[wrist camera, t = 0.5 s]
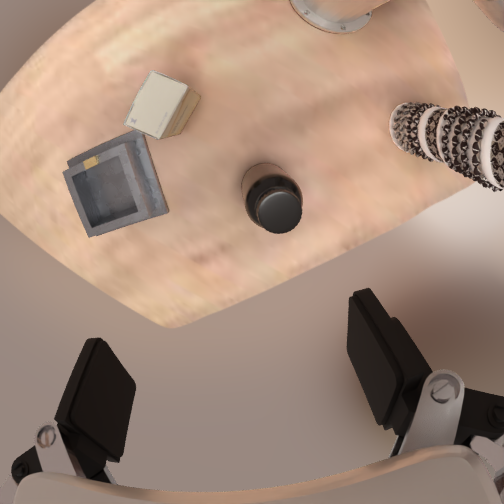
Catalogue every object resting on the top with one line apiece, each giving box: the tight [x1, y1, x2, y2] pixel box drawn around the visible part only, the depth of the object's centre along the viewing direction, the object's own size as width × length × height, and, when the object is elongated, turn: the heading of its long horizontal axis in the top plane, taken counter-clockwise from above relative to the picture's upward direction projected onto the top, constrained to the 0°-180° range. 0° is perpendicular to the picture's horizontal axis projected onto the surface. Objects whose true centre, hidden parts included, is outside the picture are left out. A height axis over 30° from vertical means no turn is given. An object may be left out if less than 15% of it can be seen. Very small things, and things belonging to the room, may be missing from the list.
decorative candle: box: [389, 102, 504, 192], centre depth 25 cm, size 9×9×25 cm
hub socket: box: [63, 130, 169, 238], centre depth 34 cm, size 13×13×6 cm
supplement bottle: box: [241, 163, 303, 234], centre depth 34 cm, size 7×7×12 cm
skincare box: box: [123, 70, 201, 140], centre depth 28 cm, size 6×4×12 cm
